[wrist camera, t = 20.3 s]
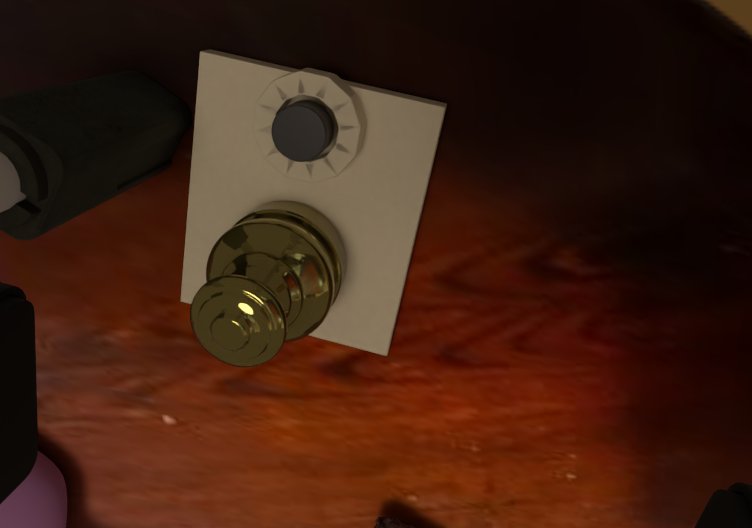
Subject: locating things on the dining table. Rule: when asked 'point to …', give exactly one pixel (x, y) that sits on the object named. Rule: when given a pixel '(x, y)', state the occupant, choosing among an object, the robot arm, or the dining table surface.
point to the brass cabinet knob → (268, 283)
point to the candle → (82, 146)
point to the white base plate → (315, 179)
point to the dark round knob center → (302, 130)
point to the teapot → (37, 499)
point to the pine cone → (390, 523)
